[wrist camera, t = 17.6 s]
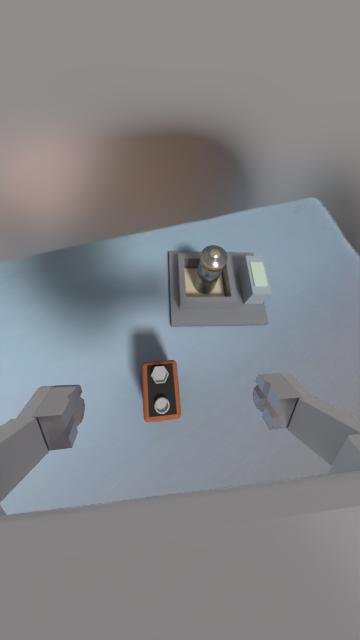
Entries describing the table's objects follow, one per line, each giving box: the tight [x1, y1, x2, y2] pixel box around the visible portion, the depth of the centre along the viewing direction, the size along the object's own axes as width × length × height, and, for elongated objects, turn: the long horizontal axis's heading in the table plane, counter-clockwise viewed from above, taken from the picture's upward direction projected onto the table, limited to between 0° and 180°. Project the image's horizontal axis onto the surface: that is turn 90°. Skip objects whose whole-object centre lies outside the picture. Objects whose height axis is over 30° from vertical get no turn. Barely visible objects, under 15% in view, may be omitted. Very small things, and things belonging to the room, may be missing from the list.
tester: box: [169, 251, 272, 327], centre depth 38 cm, size 18×16×5 cm
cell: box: [194, 245, 228, 294], centre depth 34 cm, size 4×4×9 cm
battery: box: [142, 360, 181, 422], centre depth 28 cm, size 4×7×10 cm, turn 6°
